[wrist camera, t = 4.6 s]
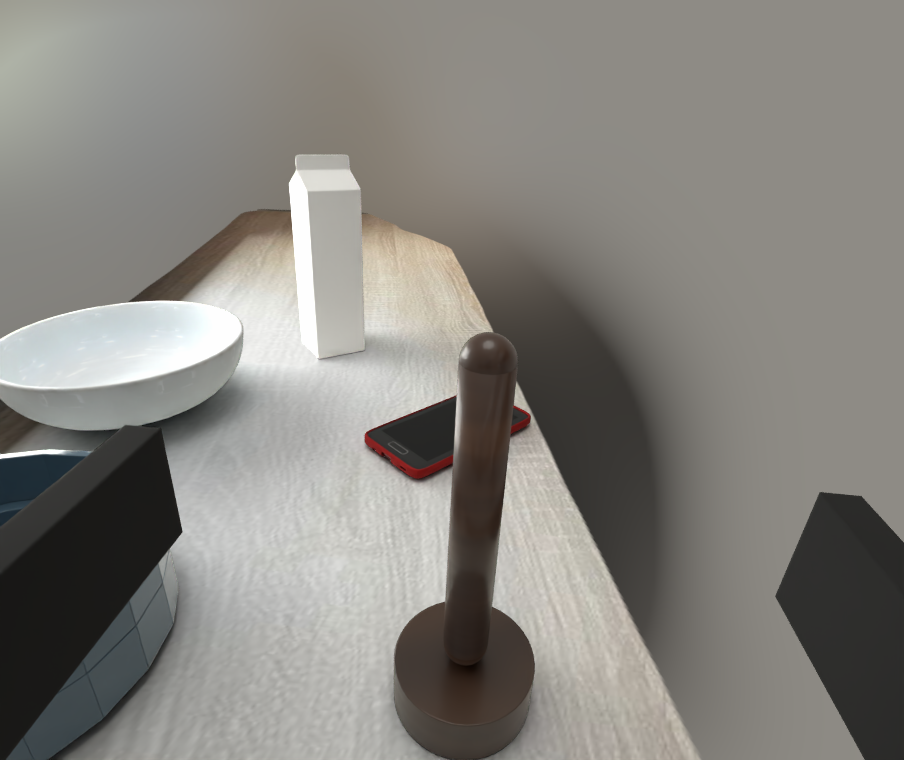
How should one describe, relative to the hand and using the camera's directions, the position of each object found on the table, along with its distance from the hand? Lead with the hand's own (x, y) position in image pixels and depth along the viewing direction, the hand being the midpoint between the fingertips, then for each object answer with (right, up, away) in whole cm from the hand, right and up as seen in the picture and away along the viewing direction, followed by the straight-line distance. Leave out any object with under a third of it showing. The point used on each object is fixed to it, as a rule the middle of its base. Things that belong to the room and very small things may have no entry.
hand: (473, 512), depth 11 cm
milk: (-15, +7, +57) cm, 59 cm away
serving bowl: (-31, 0, +43) cm, 53 cm away
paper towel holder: (0, -13, +17) cm, 22 cm away
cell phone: (-1, -2, +40) cm, 40 cm away
